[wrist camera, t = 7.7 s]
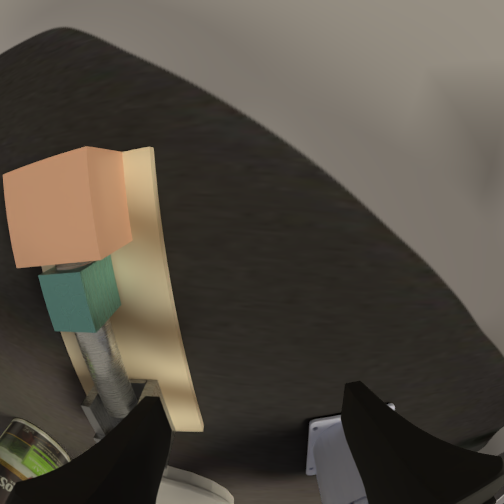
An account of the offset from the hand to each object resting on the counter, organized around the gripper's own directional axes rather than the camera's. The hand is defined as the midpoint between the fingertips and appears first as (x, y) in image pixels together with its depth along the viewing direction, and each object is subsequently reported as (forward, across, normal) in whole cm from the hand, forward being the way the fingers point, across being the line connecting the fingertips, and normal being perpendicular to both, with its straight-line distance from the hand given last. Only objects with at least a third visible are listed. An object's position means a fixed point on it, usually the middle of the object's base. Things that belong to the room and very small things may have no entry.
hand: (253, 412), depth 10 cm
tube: (+8, +10, -1) cm, 13 cm away
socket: (+9, +10, -8) cm, 16 cm away
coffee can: (+10, +30, +20) cm, 37 cm away
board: (+9, +10, 0) cm, 14 cm away
